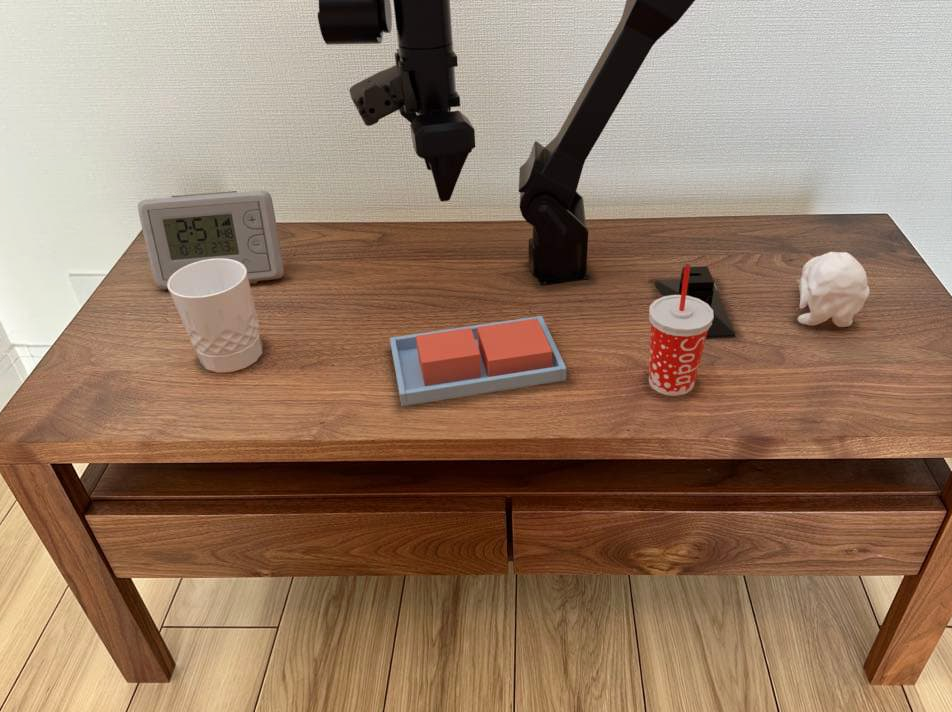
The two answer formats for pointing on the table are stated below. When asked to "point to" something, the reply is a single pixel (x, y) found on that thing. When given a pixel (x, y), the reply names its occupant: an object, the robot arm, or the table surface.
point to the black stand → (701, 298)
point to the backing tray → (418, 393)
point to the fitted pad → (514, 347)
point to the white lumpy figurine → (832, 289)
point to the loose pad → (448, 356)
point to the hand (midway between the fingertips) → (438, 184)
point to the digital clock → (212, 233)
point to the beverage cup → (677, 340)
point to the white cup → (218, 313)
